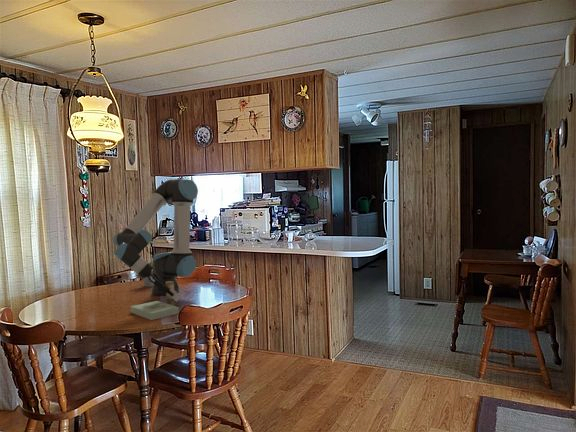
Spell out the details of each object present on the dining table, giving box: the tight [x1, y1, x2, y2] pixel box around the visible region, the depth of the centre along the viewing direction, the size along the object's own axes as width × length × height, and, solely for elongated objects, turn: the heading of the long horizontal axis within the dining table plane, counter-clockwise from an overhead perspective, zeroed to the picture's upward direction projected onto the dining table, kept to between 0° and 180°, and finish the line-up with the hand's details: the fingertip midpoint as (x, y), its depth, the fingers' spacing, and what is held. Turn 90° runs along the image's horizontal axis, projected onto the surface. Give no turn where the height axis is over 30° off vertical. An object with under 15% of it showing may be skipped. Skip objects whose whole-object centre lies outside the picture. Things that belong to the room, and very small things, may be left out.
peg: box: [165, 281, 176, 306], centre depth 222 cm, size 4×4×12 cm
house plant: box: [142, 260, 154, 288], centre depth 275 cm, size 14×14×16 cm
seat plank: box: [130, 300, 180, 321], centre depth 209 cm, size 20×14×3 cm
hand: (178, 298), depth 223 cm, fingers closed on peg, 4 cm apart
